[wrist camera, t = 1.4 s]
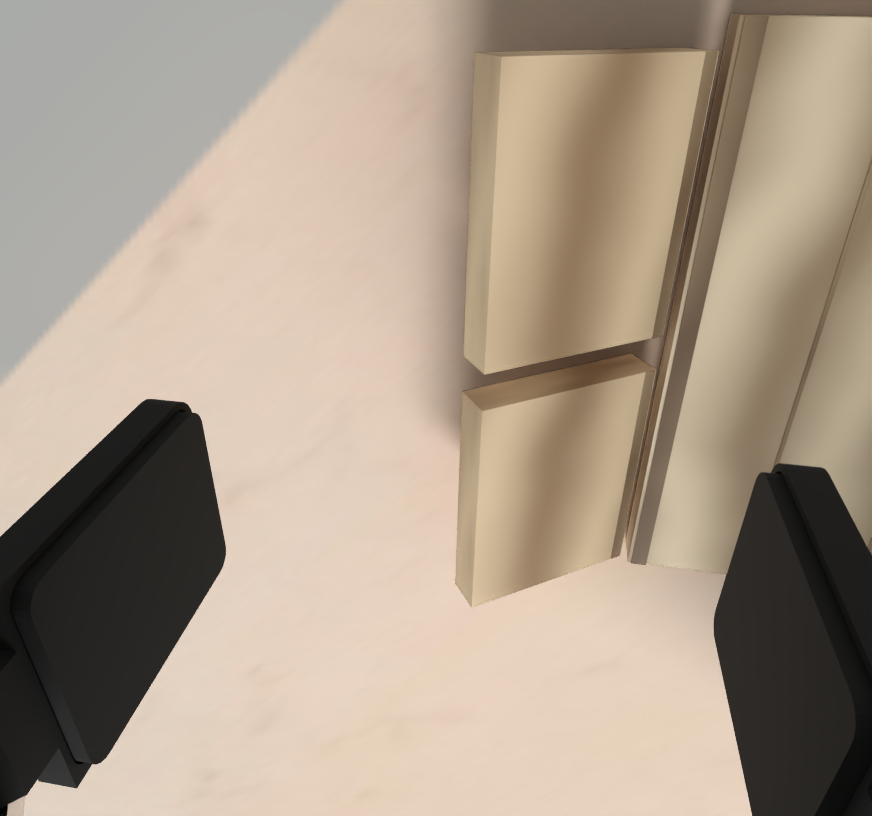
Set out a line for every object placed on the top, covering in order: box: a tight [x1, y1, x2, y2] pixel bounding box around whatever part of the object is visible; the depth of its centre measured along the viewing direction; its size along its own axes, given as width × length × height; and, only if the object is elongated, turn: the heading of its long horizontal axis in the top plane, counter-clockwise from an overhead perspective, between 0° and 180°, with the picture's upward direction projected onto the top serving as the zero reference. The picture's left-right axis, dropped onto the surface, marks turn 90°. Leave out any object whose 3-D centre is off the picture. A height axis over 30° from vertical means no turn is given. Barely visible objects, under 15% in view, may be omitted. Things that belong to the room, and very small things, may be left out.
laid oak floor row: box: [626, 14, 872, 574], centre depth 28 cm, size 10×23×2 cm, turn 179°
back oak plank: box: [455, 354, 656, 607], centre depth 30 cm, size 8×10×2 cm
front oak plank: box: [464, 48, 719, 375], centre depth 24 cm, size 8×10×2 cm
